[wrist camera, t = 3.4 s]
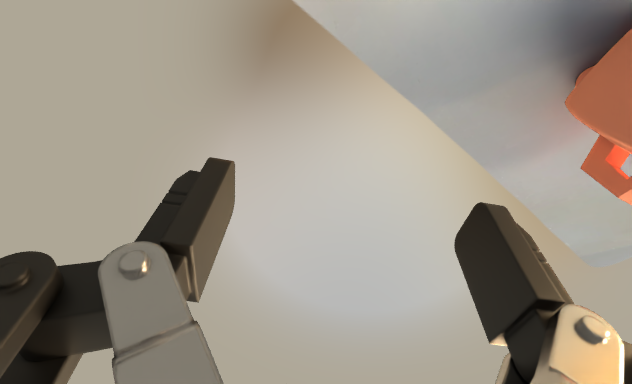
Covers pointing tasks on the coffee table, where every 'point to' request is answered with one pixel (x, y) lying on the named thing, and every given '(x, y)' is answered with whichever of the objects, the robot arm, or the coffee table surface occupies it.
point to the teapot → (607, 116)
